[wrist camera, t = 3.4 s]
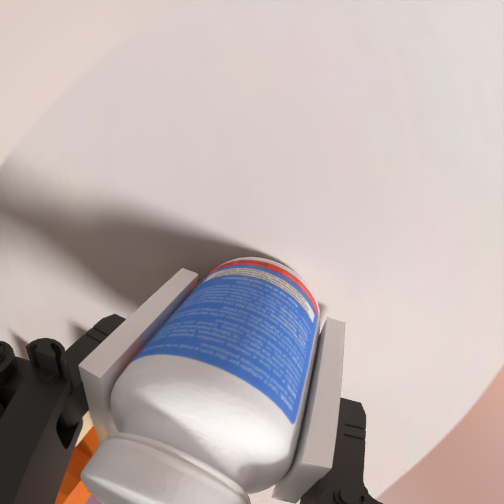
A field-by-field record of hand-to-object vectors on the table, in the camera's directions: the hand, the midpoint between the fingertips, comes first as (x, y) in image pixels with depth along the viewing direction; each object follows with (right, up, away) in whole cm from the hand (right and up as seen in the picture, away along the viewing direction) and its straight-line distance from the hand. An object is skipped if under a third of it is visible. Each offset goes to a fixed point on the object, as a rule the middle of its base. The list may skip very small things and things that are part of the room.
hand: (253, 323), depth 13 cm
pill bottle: (0, 0, +1) cm, 1 cm away
